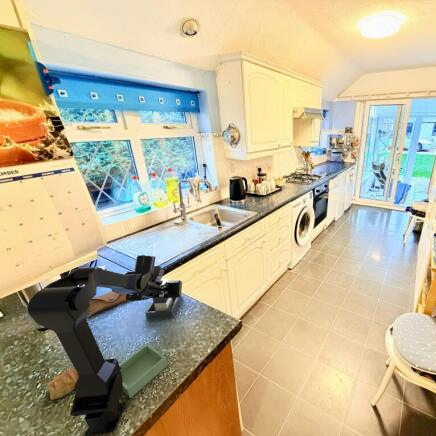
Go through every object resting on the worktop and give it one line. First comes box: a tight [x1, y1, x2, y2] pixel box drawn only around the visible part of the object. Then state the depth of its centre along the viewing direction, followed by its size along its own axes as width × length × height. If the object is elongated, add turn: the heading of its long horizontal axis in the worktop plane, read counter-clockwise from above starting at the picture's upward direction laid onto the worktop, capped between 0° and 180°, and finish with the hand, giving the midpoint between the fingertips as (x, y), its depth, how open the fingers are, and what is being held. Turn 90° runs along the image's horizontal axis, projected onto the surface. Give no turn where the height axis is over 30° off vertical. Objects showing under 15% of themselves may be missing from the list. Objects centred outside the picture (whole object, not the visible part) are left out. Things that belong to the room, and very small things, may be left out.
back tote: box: [144, 295, 183, 320], centre depth 96 cm, size 11×10×4 cm
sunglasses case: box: [86, 291, 128, 318], centre depth 99 cm, size 18×7×7 cm, turn 133°
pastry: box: [46, 368, 79, 401], centre depth 68 cm, size 9×7×4 cm
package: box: [152, 278, 173, 311], centre depth 94 cm, size 6×5×12 cm
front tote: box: [119, 343, 168, 399], centre depth 71 cm, size 11×10×4 cm
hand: (163, 292), depth 95 cm, fingers closed on package, 4 cm apart
